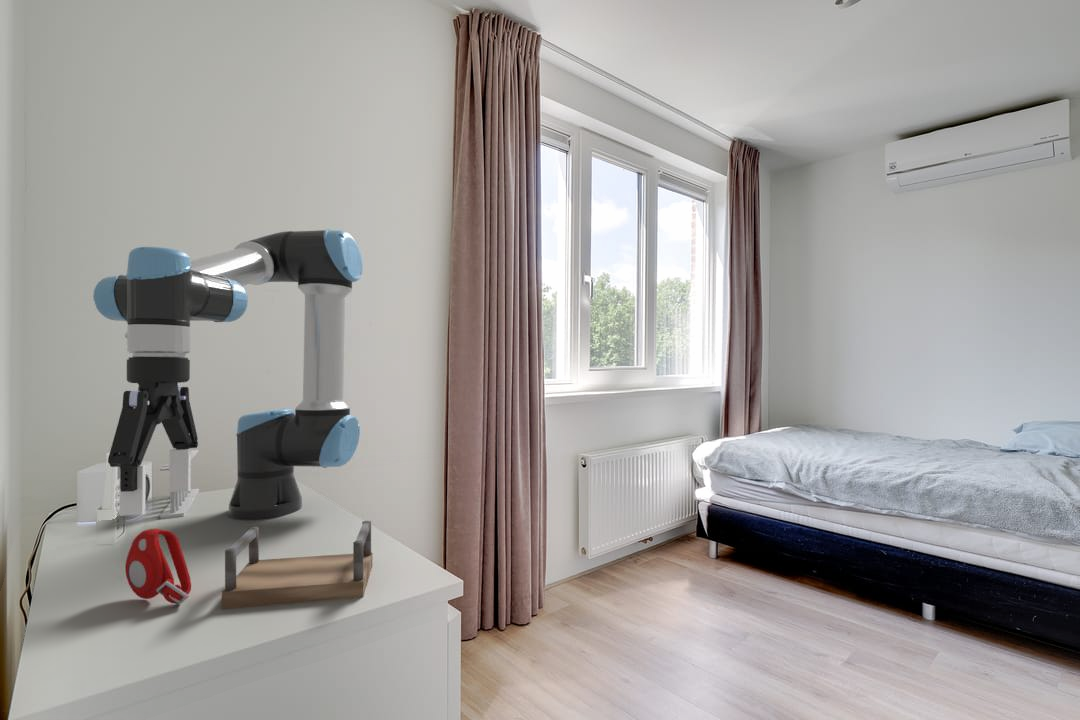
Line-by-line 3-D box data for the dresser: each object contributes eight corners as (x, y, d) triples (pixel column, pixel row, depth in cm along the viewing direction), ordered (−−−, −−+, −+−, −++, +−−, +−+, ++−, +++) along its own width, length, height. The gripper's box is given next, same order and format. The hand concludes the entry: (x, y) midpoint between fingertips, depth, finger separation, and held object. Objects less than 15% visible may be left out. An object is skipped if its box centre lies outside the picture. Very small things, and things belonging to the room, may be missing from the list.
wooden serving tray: (250, 575, 88) (250, 526, 88) (372, 567, 91) (372, 519, 91) (222, 609, 76) (221, 553, 76) (363, 598, 80) (363, 544, 80)
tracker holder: (117, 600, 79) (116, 531, 79) (148, 588, 83) (148, 523, 83) (173, 614, 75) (173, 542, 75) (203, 601, 79) (203, 532, 79)
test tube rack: (183, 516, 121) (183, 457, 121) (159, 519, 119) (159, 459, 119) (198, 491, 143) (198, 441, 143) (179, 493, 141) (178, 442, 141)
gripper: (171, 356, 90) (170, 484, 90) (73, 354, 66) (72, 528, 66) (220, 356, 92) (219, 482, 92) (142, 354, 67) (141, 525, 67)
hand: (158, 502), depth 79 cm, fingers open, 13 cm apart
